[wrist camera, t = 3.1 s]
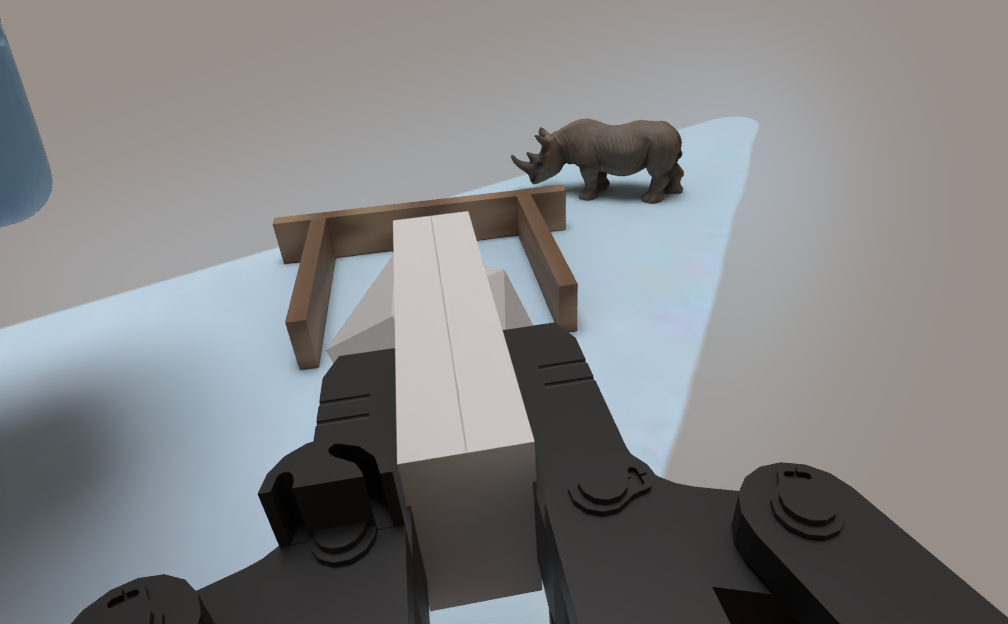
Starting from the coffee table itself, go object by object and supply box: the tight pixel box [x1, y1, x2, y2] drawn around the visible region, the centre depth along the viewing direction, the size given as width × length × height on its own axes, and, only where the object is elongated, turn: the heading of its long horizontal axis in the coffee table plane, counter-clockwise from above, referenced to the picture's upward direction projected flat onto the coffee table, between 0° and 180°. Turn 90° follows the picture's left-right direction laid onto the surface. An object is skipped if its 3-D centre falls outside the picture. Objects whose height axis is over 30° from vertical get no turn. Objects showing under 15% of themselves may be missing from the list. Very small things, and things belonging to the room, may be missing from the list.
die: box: [326, 255, 533, 363], centre depth 26 cm, size 8×9×10 cm
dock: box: [273, 185, 578, 369], centre depth 37 cm, size 20×14×3 cm
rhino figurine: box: [511, 119, 684, 204], centre depth 48 cm, size 4×14×6 cm, turn 77°
